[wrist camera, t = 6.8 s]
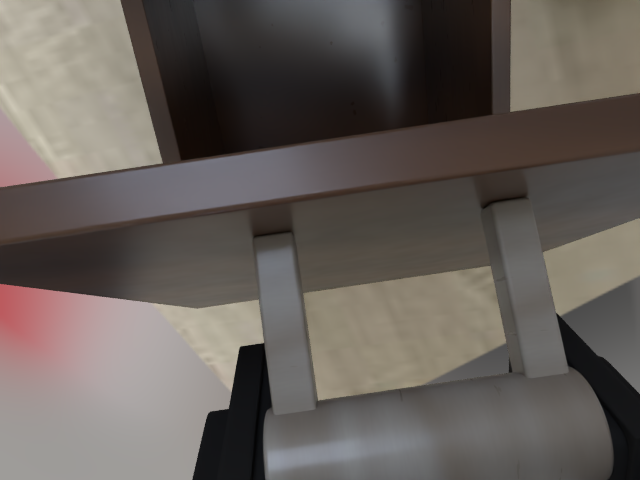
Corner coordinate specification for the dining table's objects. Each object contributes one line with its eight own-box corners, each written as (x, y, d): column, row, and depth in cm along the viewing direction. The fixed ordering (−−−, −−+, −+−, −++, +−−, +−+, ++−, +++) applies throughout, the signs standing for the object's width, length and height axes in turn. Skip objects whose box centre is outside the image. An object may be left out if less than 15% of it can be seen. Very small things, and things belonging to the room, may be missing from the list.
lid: (-148, 206, 7) (-158, 663, 6) (948, 45, 7) (1119, 481, 6) (194, 291, 23) (206, 413, 22) (512, 244, 23) (538, 365, 22)
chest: (171, -46, 28) (94, -101, 17) (427, -85, 28) (512, -163, 17) (228, 213, 34) (197, 295, 23) (440, 182, 34) (510, 249, 23)
